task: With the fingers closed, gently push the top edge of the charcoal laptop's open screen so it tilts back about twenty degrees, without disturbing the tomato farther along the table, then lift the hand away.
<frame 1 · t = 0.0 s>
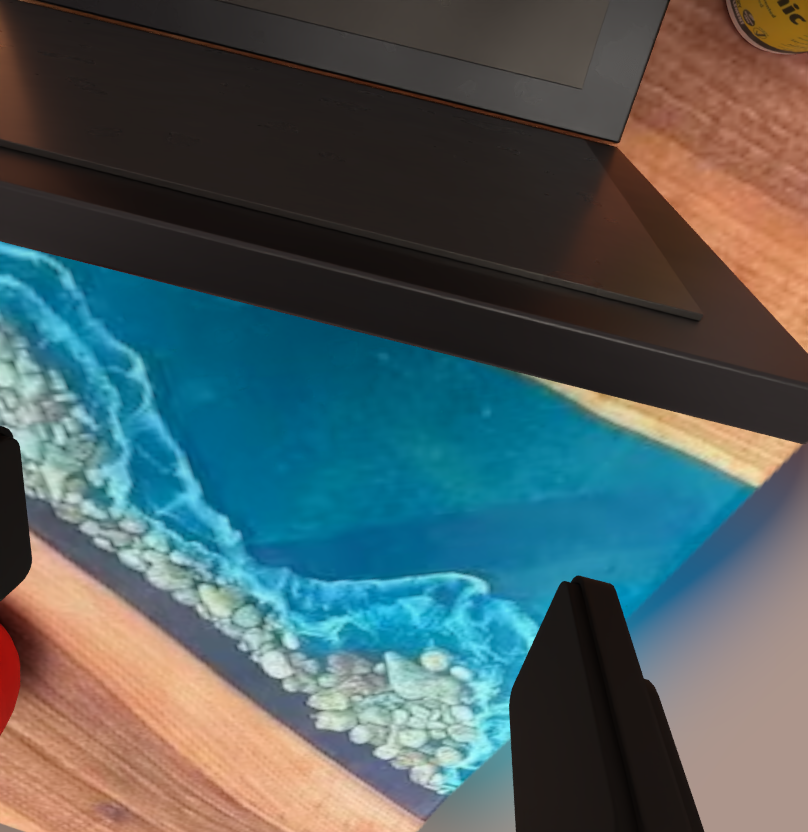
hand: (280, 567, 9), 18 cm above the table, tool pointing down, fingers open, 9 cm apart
laptop screen: (195, 104, 14), point 10 cm above the table, hinge at 100.0°
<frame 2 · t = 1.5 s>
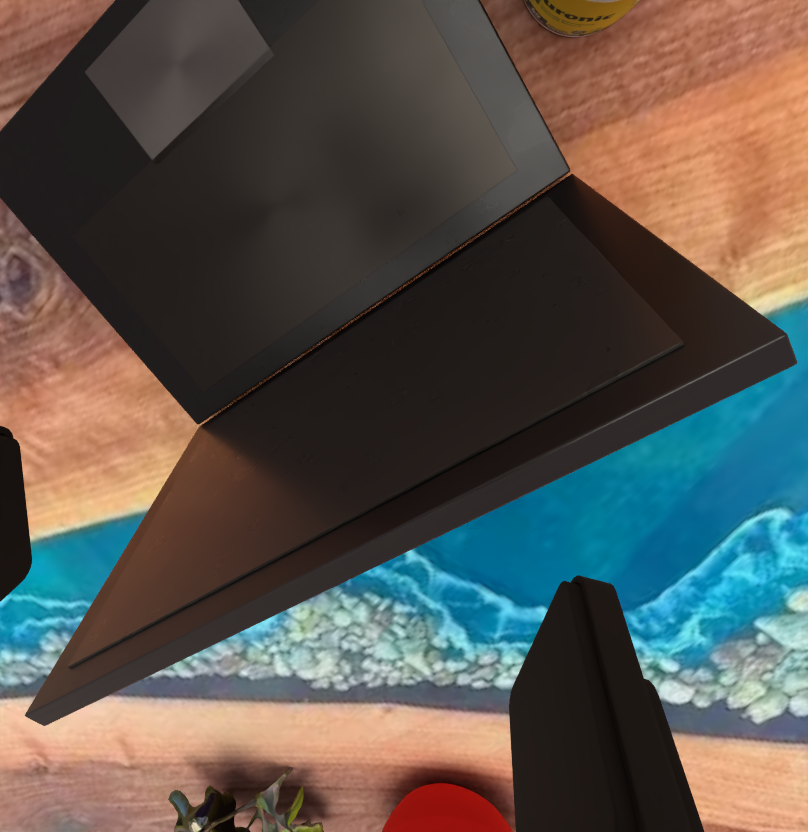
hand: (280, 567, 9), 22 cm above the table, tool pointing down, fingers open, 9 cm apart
laptop screen: (344, 410, 21), point 10 cm above the table, hinge at 100.0°
tomato: (452, 802, 47), on the table
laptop: (263, 167, 27), on the table
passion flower: (266, 781, 49), on the table
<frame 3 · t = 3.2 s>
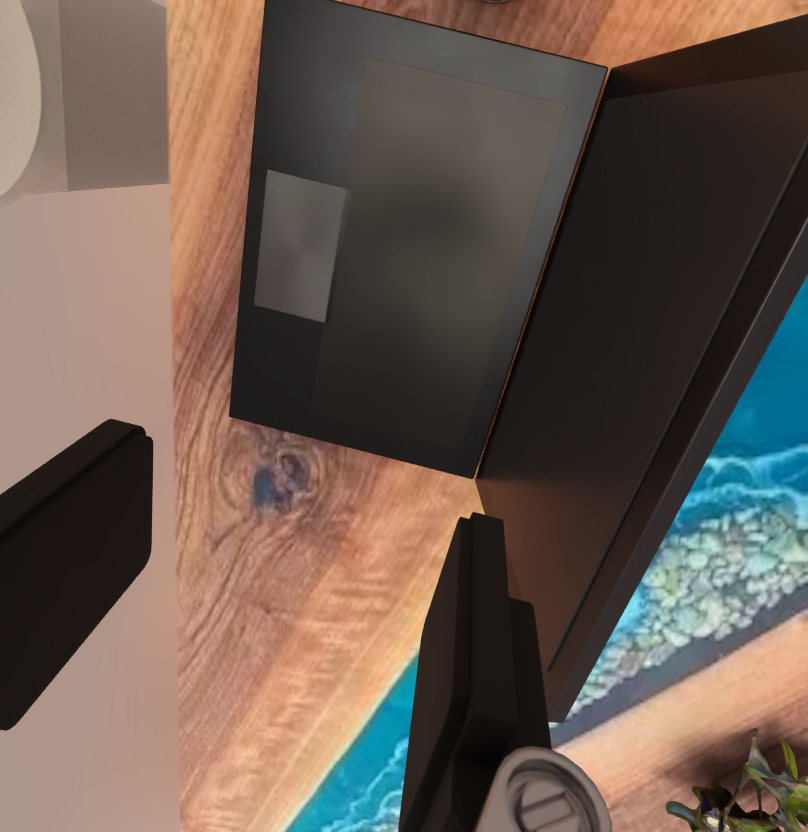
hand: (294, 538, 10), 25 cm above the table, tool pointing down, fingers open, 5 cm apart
laptop screen: (588, 364, 24), point 10 cm above the table, hinge at 100.0°
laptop: (390, 267, 33), on the table
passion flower: (741, 755, 47), on the table
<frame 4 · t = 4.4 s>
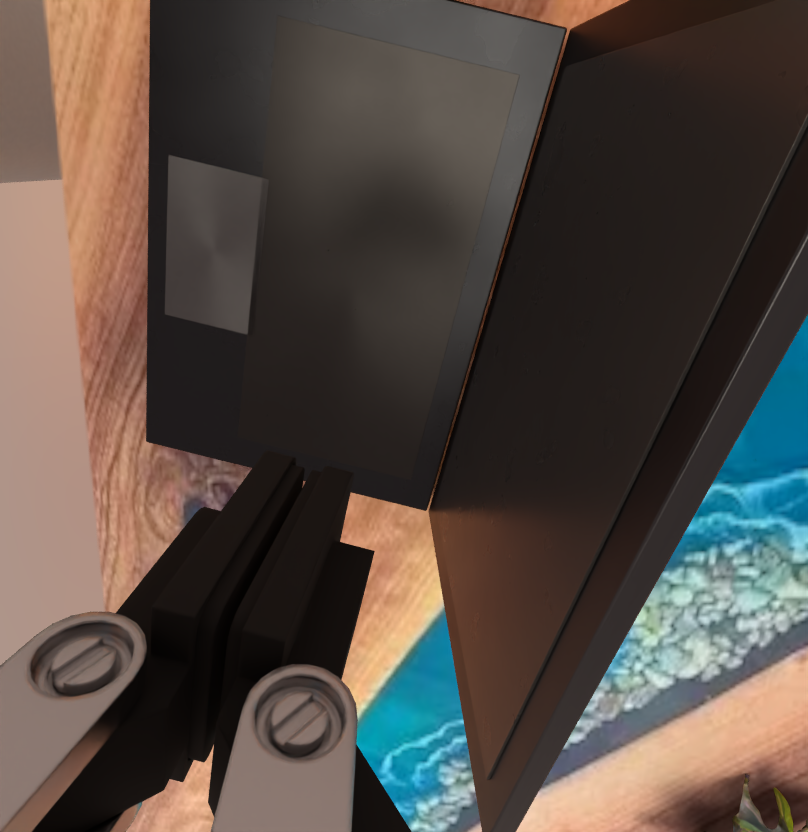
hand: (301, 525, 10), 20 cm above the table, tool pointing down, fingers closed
laptop screen: (541, 391, 19), point 10 cm above the table, hinge at 100.0°
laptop: (323, 269, 28), on the table
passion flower: (731, 801, 43), on the table
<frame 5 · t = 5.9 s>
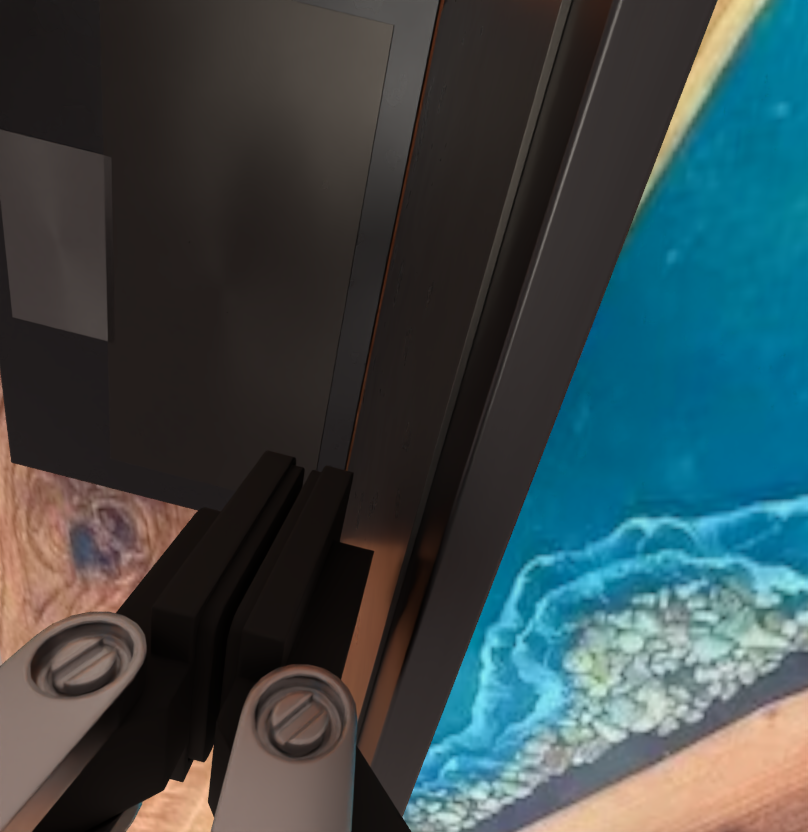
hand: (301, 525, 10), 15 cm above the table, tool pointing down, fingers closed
laptop screen: (394, 419, 15), point 10 cm above the table, hinge at 100.2°, touching gripper
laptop: (195, 265, 24), on the table
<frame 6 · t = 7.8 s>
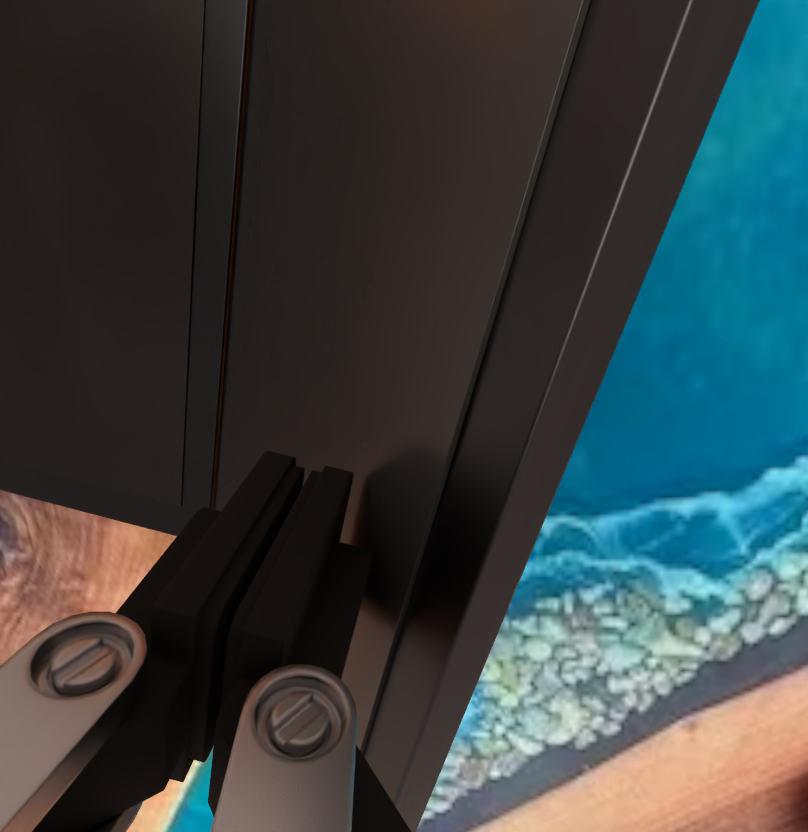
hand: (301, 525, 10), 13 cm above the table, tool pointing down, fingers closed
laptop screen: (298, 408, 15), point 9 cm above the table, hinge at 122.8°, touching gripper
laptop: (42, 242, 22), on the table
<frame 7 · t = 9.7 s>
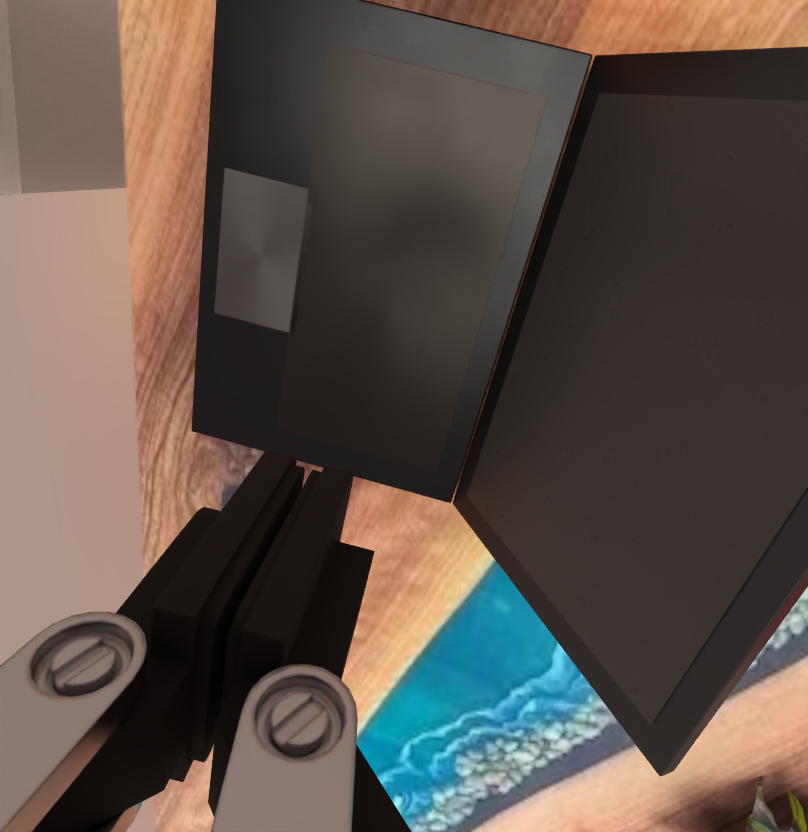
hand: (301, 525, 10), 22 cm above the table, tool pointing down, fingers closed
laptop screen: (631, 393, 22), point 9 cm above the table, hinge at 122.8°
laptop: (360, 273, 31), on the table
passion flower: (745, 805, 43), on the table
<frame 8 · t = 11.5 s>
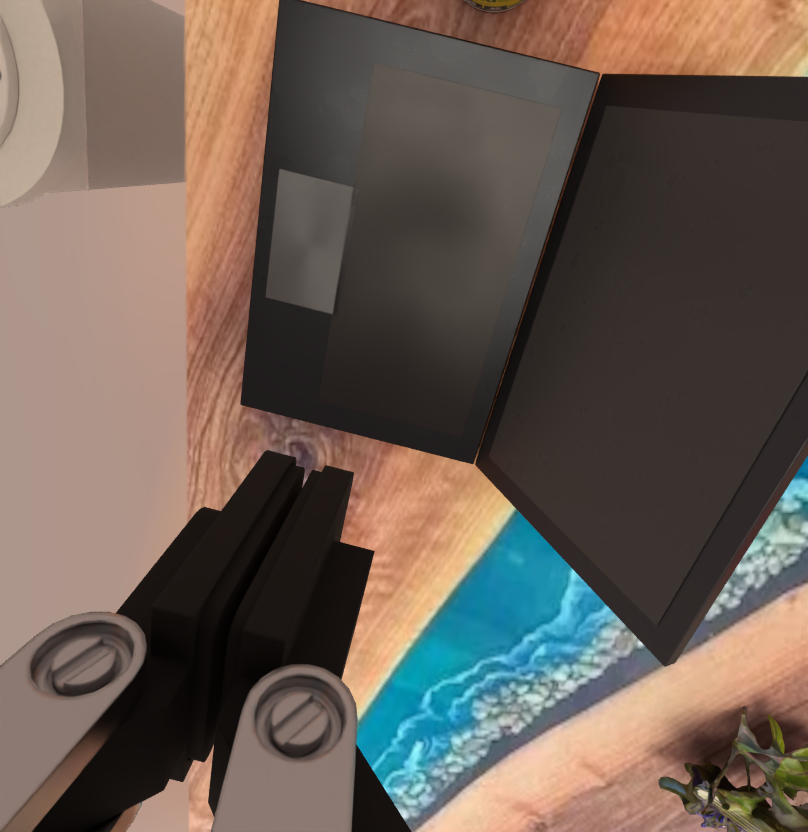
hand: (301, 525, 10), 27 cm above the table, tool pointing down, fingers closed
laptop screen: (636, 356, 27), point 9 cm above the table, hinge at 122.8°
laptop: (394, 261, 35), on the table
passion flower: (731, 733, 49), on the table
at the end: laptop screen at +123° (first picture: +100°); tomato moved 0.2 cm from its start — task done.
